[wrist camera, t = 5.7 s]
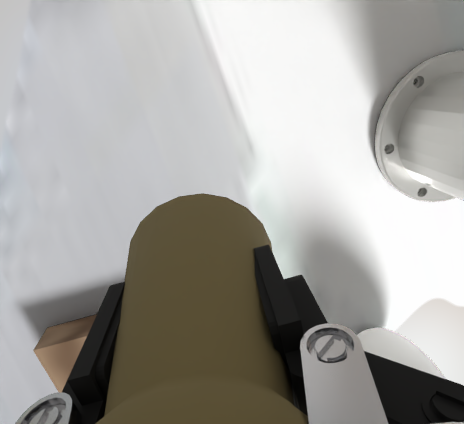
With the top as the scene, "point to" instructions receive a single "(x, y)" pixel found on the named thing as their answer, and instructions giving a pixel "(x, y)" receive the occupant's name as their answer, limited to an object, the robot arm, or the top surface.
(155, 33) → the top surface
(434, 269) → the top surface
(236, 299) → the cork
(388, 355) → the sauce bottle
